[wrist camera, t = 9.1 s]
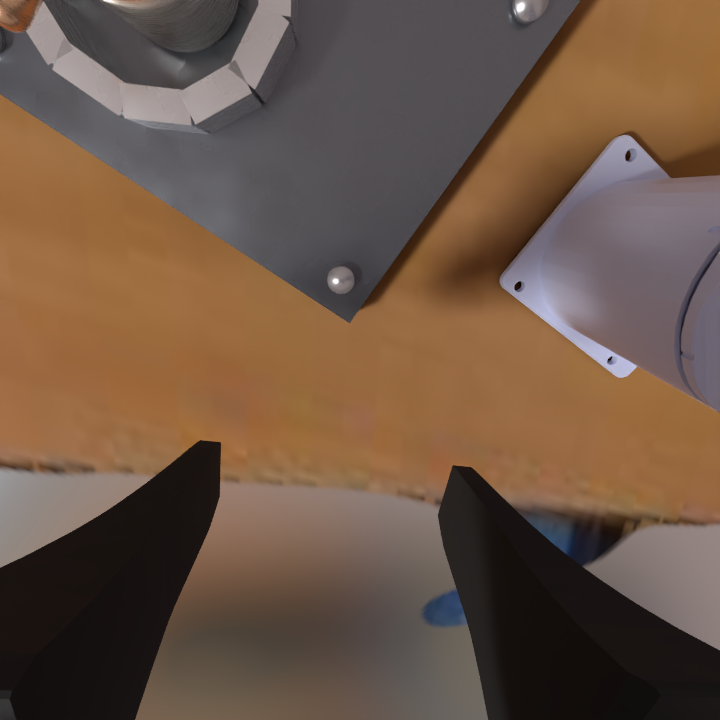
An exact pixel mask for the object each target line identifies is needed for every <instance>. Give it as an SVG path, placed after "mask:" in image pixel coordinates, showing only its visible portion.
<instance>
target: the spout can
mask: <svg viewBox="0 0 720 720" xmlns="http://www.w3.org/2000/svg"><path fill="white" fill-rule="evenodd" d="M43 1H44V0H0V26H2V27H3V28H5V29H7V30H9V31H12V32H16V33H22V32H25V31H27V30H29V29H30V27H31V25H32V23H33V21H34V19H35V17H36V15H37V13H38V11H39V9H40V7H41V5H42V3H43ZM100 1H101V2H102V3H104V4H105V5H106V6H108V7H109V8H110V9H111V10H113V11H114V12H115V13H116V14H118V15H119V16H120V17H122V18H123V19H124V20H125V21H127V22H128V23H129V24H131V25H132V26H133V27H134V28H136V29H137V30H138V31H139V32H141V33H142V34H143V35H145V36H146V37H147V38H148V39H150V40H151V41H153V42H154V43H156V44H158V45H160V46H162V47H164V48H166V49H169V50H172V51H177V52H196V51H200V50H203V49H205V48H207V47H209V46H211V45H213V44H214V43H215V42H217V41H218V40H219V39H220V38H221V37H222V36H223V35H224V34H225V32H226V31H227V30H228V28H229V26H230V25H231V23H232V21H233V19H234V16H235V13H236V10H237V6H238V2H239V0H100Z"/></svg>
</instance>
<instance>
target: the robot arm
mask: <svg viewBox="0 0 720 720" xmlns="http://www.w3.org/2000/svg"><path fill="white" fill-rule="evenodd" d="M628 150H629V151H630V153H631V157H630V159H629V160H628V161H626V159H625V154H626V152H627V151H628ZM519 281H521V287H520V288H519V289H518V290H515V289H514V286H515V284H516V283H517V282H519ZM499 282H500V285H501V287H502V288H503V289H505V290H506V291H507V292H509V293H510V294H511V295H512V296H514V297H515V298H516V299H517V300H519V301H520V302H521V303H523V304H524V305H525V306H526V307H528V308H529V309H530V310H532V311H533V312H534V313H535V314H537V315H538V316H539V317H540V318H542V319H543V320H544V321H546V322H547V323H548V324H549V325H551V326H552V327H553V328H555V329H556V330H557V331H558V332H560V333H561V334H562V335H564V336H565V337H566V338H567V339H569V340H570V341H571V342H572V343H574V344H575V345H576V346H578V347H579V348H580V349H581V350H583V351H584V352H585V353H587V354H588V355H589V356H590V357H592V358H593V359H594V360H595V361H597V362H598V363H599V364H601V365H602V366H603V367H604V368H606V369H607V370H608V371H610V372H611V373H612V374H613V375H615V376H617V377H619V378H623V377H626V376H628V375H629V374H630V373H631V372H632V371H633V370H634V369H635V368H636V367H637V366H638V367H640V368H641V369H643V370H645V371H647V372H649V373H650V374H652V375H654V376H656V377H657V378H659V379H661V380H663V381H664V382H666V383H668V384H670V385H671V386H673V387H675V388H677V389H678V390H680V391H682V392H684V393H686V394H687V395H689V396H691V397H693V398H694V399H696V400H698V401H700V402H701V403H703V404H705V405H707V406H708V407H710V408H712V409H714V410H715V411H717V412H719V413H720V175H715V176H698V177H681V178H670V176H669V175H668V174H667V173H666V172H665V171H664V170H663V169H662V168H661V167H660V166H659V165H658V164H657V163H656V162H655V161H654V160H653V159H652V158H651V157H650V156H649V154H648V153H647V152H646V151H645V150H644V149H643V148H642V147H641V146H640V145H639V144H638V143H637V142H636V141H635V140H634V139H633V138H632V137H631V136H629V135H621V136H618V137H615V138H614V139H613V140H612V141H611V142H610V143H609V144H608V146H607V147H606V148H605V149H604V150H603V152H602V153H601V154H600V155H599V156H598V158H597V159H596V160H595V161H594V163H593V164H592V165H591V166H590V167H589V169H588V170H587V171H586V172H585V173H584V175H583V176H582V177H581V178H580V180H579V181H578V182H577V183H576V184H575V186H574V187H573V188H572V189H571V191H570V192H569V193H568V194H567V195H566V197H565V198H564V199H563V200H562V201H561V203H560V204H559V205H558V206H557V208H556V209H555V210H554V211H553V212H552V214H551V215H550V216H549V217H548V218H547V220H546V221H545V222H544V223H543V225H542V226H541V227H540V228H539V229H538V231H537V232H536V233H535V234H534V236H533V237H532V238H531V239H530V240H529V242H528V243H527V244H526V245H525V246H524V248H523V249H522V250H521V251H520V253H519V254H518V255H517V256H516V257H515V259H514V260H513V261H512V262H511V263H510V265H509V266H508V267H507V268H506V270H505V271H504V272H503V273H502V275H501V277H500V281H499ZM611 356H612V359H611V360H610V361H609V362H607V360H608V359H609V357H611ZM220 458H221V442H212V441H202V440H200V441H198V442H197V443H196V444H194V445H193V446H192V447H191V448H189V449H188V450H187V451H186V452H185V453H183V454H182V455H181V456H180V457H179V458H177V459H176V460H175V461H174V462H172V463H171V464H170V465H169V466H168V467H166V468H165V469H164V470H162V471H161V472H160V473H159V474H157V475H156V476H155V477H153V478H152V479H151V480H150V481H148V482H147V483H146V484H144V485H143V486H142V487H140V488H139V489H137V490H136V491H135V492H133V493H132V494H130V495H129V496H128V497H126V498H125V499H123V500H122V501H121V502H119V503H118V504H116V505H115V506H113V507H112V508H110V509H109V510H107V511H106V512H104V513H102V514H101V515H100V516H98V517H96V518H94V519H93V520H91V521H89V522H88V523H86V524H84V525H83V526H81V527H79V528H78V529H76V530H74V531H72V532H70V533H69V534H67V535H65V536H63V537H61V538H59V539H57V540H55V541H53V542H51V543H49V544H47V545H46V546H44V547H42V548H40V549H38V550H36V551H34V552H32V553H31V554H28V555H26V556H25V557H22V558H20V559H18V560H16V561H14V562H12V563H9V564H7V565H5V566H3V567H1V568H0V720H135V718H136V715H137V712H138V709H139V706H140V703H141V700H142V697H143V694H144V691H145V688H146V684H147V682H148V679H149V676H150V673H151V670H152V667H153V664H154V661H155V658H156V655H157V652H158V650H159V647H160V644H161V641H162V638H163V635H164V632H165V630H166V627H167V624H168V621H169V618H170V616H171V614H172V611H173V609H174V606H175V604H176V602H177V599H178V597H179V595H180V593H181V591H182V588H183V586H184V584H185V582H186V580H187V577H188V575H189V573H190V571H191V569H192V566H193V564H194V562H195V560H196V558H197V555H198V553H199V551H200V549H201V546H202V544H203V542H204V539H205V537H206V535H207V533H208V530H209V528H210V525H211V522H212V519H213V516H214V513H215V510H216V506H217V503H218V500H219V497H220ZM438 518H439V524H440V530H441V536H442V540H443V546H444V550H445V553H446V556H447V559H448V562H449V565H450V569H451V572H452V575H453V579H454V582H455V585H456V588H457V591H458V594H459V598H460V601H461V604H462V607H463V610H464V613H465V617H466V620H467V623H468V627H469V630H470V634H471V638H472V643H473V647H474V652H475V656H476V661H477V666H478V670H479V675H480V680H481V684H482V690H483V695H484V700H485V705H486V710H487V715H488V720H720V650H718V649H716V648H714V647H712V646H710V645H708V644H706V643H705V642H702V641H701V640H699V639H697V638H695V637H693V636H691V635H689V634H688V633H686V632H684V631H682V630H680V629H678V628H677V627H674V626H673V625H671V624H670V623H668V622H666V621H664V620H663V619H661V618H659V617H658V616H656V615H654V614H653V613H651V612H649V611H648V610H646V609H644V608H643V607H641V606H640V605H638V604H636V603H635V602H633V601H631V600H630V599H628V598H627V597H625V596H624V595H622V594H620V593H619V592H618V591H616V590H615V589H613V588H612V587H610V586H609V585H607V584H606V583H604V582H603V581H601V580H600V579H599V578H597V577H595V576H594V575H593V574H592V573H590V572H589V571H587V570H586V569H585V568H583V567H582V566H581V565H579V564H578V563H577V562H575V561H574V560H573V559H572V558H570V557H569V556H568V555H566V554H565V553H564V552H563V551H561V550H560V549H559V548H558V547H556V546H555V545H554V544H553V543H552V542H550V541H549V540H548V539H547V538H546V537H545V536H543V535H542V534H541V533H540V532H539V531H538V530H537V529H535V528H534V527H533V526H532V525H531V524H530V523H529V522H528V521H527V520H525V519H524V518H523V517H522V516H521V515H520V514H519V513H518V512H517V511H516V510H515V509H514V508H513V507H512V506H511V505H510V504H509V503H508V502H507V501H506V500H505V499H504V498H502V497H501V496H500V495H499V494H498V493H497V492H496V491H495V490H494V489H493V488H492V487H491V486H490V485H489V484H488V483H487V482H486V481H485V480H484V479H483V478H482V477H481V476H480V475H479V474H478V473H477V472H476V471H475V470H474V469H473V468H471V467H464V466H454V465H453V466H452V470H451V473H450V476H449V480H448V483H447V486H446V490H445V493H444V496H443V500H442V503H441V506H440V510H439V514H438Z"/></svg>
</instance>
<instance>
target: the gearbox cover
mask: <svg viewBox="0 0 720 720" xmlns="http://www.w3.org/2000/svg"><path fill="white" fill-rule="evenodd" d="M579 2H580V0H239V2H238V6H237V10H236V13H235V16H234V19H233V21H232V23H231V25H230V26H229V28H228V30H227V31H226V32H225V34H224V35H223V36H222V37H221V38H220V39H219V40H218V41H217V42H215V43H214V44H213V45H211V46H209V47H207V48H205V49H203V50H200V51H196V52H177V51H172V50H169V49H166V48H164V47H162V46H160V45H158V44H156V43H154V42H153V41H151V40H150V39H148V38H147V37H146V36H145V35H143V34H142V33H141V32H139V31H138V30H137V29H136V28H134V27H133V26H132V25H131V24H129V23H128V22H127V21H125V20H124V19H123V18H122V17H120V16H119V15H118V14H116V13H115V12H114V11H113V10H111V9H110V8H109V7H108V6H106V5H105V4H104V3H102V2H101V1H100V0H44V1H43V3H42V5H41V7H40V9H39V11H38V13H37V15H36V17H35V19H34V21H33V23H32V25H31V27H30V29H29V30H27V31H25V32H22V33H16V32H12V31H9V30H7V29H5V28H3V27H2V26H0V94H1V95H3V96H4V97H6V98H7V99H9V100H10V101H12V102H13V103H15V104H16V105H18V106H19V107H21V108H22V109H24V110H25V111H27V112H28V113H30V114H32V115H33V116H35V117H36V118H38V119H39V120H41V121H42V122H44V123H45V124H47V125H48V126H50V127H51V128H53V129H54V130H56V131H57V132H59V133H60V134H62V135H64V136H65V137H67V138H68V139H70V140H71V141H73V142H74V143H76V144H77V145H79V146H80V147H82V148H83V149H85V150H86V151H88V152H89V153H91V154H92V155H94V156H96V157H97V158H99V159H100V160H102V161H103V162H105V163H106V164H108V165H109V166H111V167H112V168H114V169H115V170H117V171H118V172H120V173H121V174H123V175H125V176H126V177H128V178H129V179H131V180H132V181H134V182H135V183H137V184H138V185H140V186H141V187H143V188H144V189H146V190H147V191H149V192H150V193H152V194H153V195H155V196H157V197H158V198H160V199H161V200H163V201H164V202H166V203H167V204H169V205H170V206H172V207H173V208H175V209H176V210H178V211H179V212H181V213H182V214H184V215H185V216H187V217H189V218H190V219H192V220H193V221H195V222H196V223H198V224H199V225H201V226H202V227H204V228H205V229H207V230H208V231H210V232H211V233H213V234H214V235H216V236H217V237H219V238H221V239H222V240H224V241H225V242H227V243H228V244H230V245H231V246H233V247H234V248H236V249H237V250H239V251H240V252H242V253H243V254H245V255H246V256H248V257H249V258H251V259H253V260H254V261H256V262H257V263H259V264H260V265H262V266H263V267H265V268H266V269H268V270H269V271H271V272H272V273H274V274H275V275H277V276H278V277H280V278H282V279H283V280H285V281H286V282H288V283H289V284H291V285H292V286H294V287H295V288H297V289H298V290H300V291H301V292H303V293H304V294H306V295H307V296H309V297H310V298H312V299H314V300H315V301H317V302H318V303H320V304H321V305H323V306H324V307H326V308H327V309H329V310H330V311H332V312H333V313H335V314H336V315H338V316H339V317H341V318H342V319H344V320H346V321H347V322H349V323H350V322H351V320H352V319H353V317H354V316H355V315H356V313H357V312H358V310H359V309H360V308H361V306H362V305H363V304H364V302H365V301H366V299H367V298H368V297H369V295H370V294H371V292H372V291H373V290H374V288H375V287H376V285H377V284H378V283H379V281H380V280H381V278H382V277H383V276H384V274H385V273H386V271H387V270H388V269H389V267H390V266H391V264H392V263H393V262H394V260H395V259H396V257H397V256H398V255H399V253H400V252H401V250H402V249H403V248H404V246H405V245H406V243H407V242H408V241H409V239H410V238H411V236H412V235H413V234H414V232H415V231H416V229H417V228H418V227H419V225H420V224H421V222H422V221H423V220H424V218H425V217H426V215H427V214H428V213H429V211H430V210H431V209H432V207H433V206H434V204H435V203H436V202H437V200H438V199H439V197H440V196H441V195H442V193H443V192H444V190H445V189H446V188H447V186H448V185H449V183H450V182H451V181H452V179H453V178H454V176H455V175H456V174H457V172H458V171H459V169H460V168H461V167H462V165H463V164H464V162H465V161H466V160H467V158H468V157H469V155H470V154H471V153H472V151H473V150H474V148H475V147H476V146H477V144H478V143H479V141H480V140H481V139H482V137H483V136H484V134H485V133H486V132H487V130H488V129H489V127H490V126H491V125H492V123H493V122H494V120H495V119H496V118H497V116H498V115H499V113H500V112H501V111H502V109H503V108H504V107H505V105H506V104H507V102H508V101H509V100H510V98H511V97H512V95H513V94H514V93H515V91H516V90H517V88H518V87H519V86H520V84H521V83H522V81H523V80H524V79H525V77H526V76H527V74H528V73H529V72H530V70H531V69H532V67H533V66H534V65H535V63H536V62H537V60H538V59H539V58H540V56H541V55H542V53H543V52H544V51H545V49H546V48H547V46H548V45H549V44H550V42H551V41H552V39H553V38H554V37H555V35H556V34H557V32H558V31H559V30H560V28H561V27H562V25H563V24H564V23H565V21H566V20H567V18H568V17H569V16H570V14H571V13H572V12H573V10H574V9H575V7H576V6H577V5H578V3H579Z"/></svg>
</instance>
